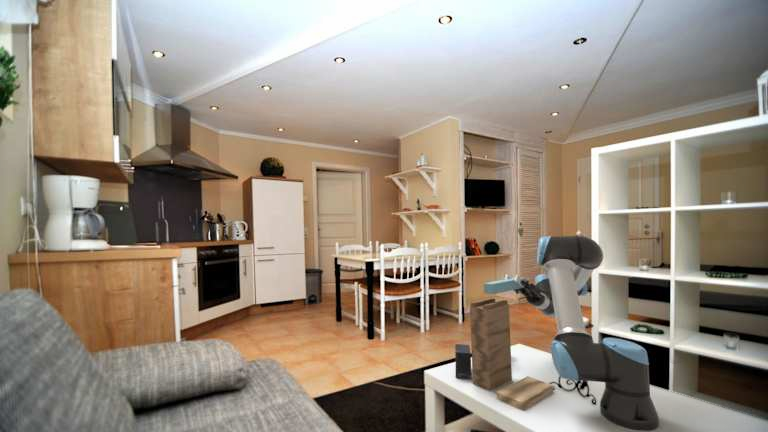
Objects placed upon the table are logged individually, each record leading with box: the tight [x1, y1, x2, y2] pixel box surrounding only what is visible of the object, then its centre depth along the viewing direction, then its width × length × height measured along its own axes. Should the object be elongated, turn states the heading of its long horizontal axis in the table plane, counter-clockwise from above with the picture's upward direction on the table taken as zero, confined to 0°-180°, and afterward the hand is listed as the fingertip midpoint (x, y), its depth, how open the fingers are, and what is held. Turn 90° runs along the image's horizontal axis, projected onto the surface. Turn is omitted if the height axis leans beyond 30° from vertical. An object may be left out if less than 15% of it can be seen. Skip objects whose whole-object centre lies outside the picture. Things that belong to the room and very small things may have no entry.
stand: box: [469, 297, 513, 392], centre depth 136 cm, size 8×14×32 cm, turn 126°
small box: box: [454, 343, 472, 379], centre depth 144 cm, size 11×6×10 cm, turn 168°
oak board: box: [495, 376, 554, 411], centre depth 124 cm, size 10×20×2 cm, turn 127°
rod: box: [483, 276, 527, 295], centre depth 144 cm, size 4×24×4 cm, turn 127°
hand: (511, 277), depth 147 cm, fingers closed on rod, 4 cm apart
